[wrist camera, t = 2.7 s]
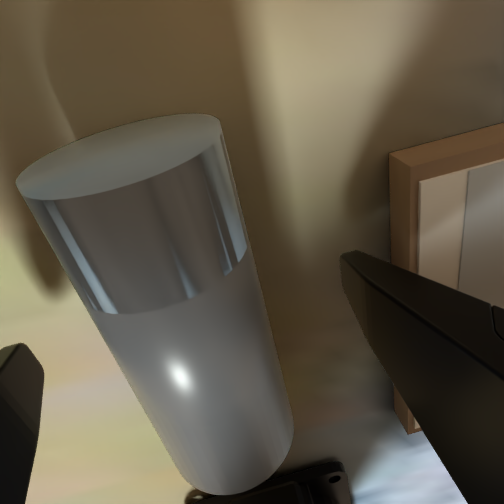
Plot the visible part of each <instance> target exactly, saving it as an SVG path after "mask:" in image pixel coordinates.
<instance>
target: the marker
mask: <svg viewBox="0 0 504 504" xmlns="http://www.w3.org/2000/svg"><path fill="white" fill-rule="evenodd" d="M16 186H17V188H18V190H19V192H20V193H21V195H22V197H23V199H24V200H25V202H26V204H27V206H28V207H29V209H30V211H31V213H32V214H33V216H34V218H35V220H36V221H37V223H38V225H39V227H40V228H41V230H42V232H43V234H44V235H45V237H46V239H47V241H48V242H49V244H50V246H51V248H52V249H53V251H54V253H55V255H56V256H57V258H58V260H59V262H60V263H61V265H62V267H63V269H64V270H65V272H66V274H67V276H68V277H69V279H70V281H71V283H72V284H73V286H74V288H75V290H76V292H77V293H78V295H79V297H80V299H81V300H82V302H83V304H84V306H85V307H86V309H87V311H88V313H89V314H90V316H91V318H92V320H93V321H94V323H95V325H96V327H97V328H98V330H99V332H100V334H101V335H102V337H103V339H104V341H105V342H106V344H107V346H108V348H109V349H110V351H111V353H112V355H113V356H114V358H115V360H116V362H117V363H118V365H119V367H120V369H121V370H122V372H123V374H124V376H125V377H126V379H127V381H128V383H129V384H130V386H131V388H132V390H133V391H134V393H135V395H136V397H137V398H138V400H139V402H140V404H141V405H142V407H143V409H144V411H145V413H146V414H147V416H148V418H149V420H150V421H151V423H152V425H153V427H154V428H155V430H156V432H157V434H158V435H159V437H160V439H161V441H162V442H163V444H164V446H165V448H166V449H167V451H168V453H169V455H170V456H171V458H172V460H173V462H174V463H175V465H176V467H177V469H178V470H179V472H180V474H181V475H182V476H183V478H184V479H185V480H186V481H187V482H188V483H189V484H191V485H192V486H193V487H195V488H197V489H198V490H200V491H203V492H206V493H209V494H214V495H232V494H237V493H241V492H244V491H247V490H250V489H252V488H254V487H256V486H258V485H259V484H261V483H262V482H264V481H265V480H267V479H268V478H269V477H270V476H271V475H272V474H273V473H274V472H275V471H276V470H277V469H278V468H279V467H280V465H281V464H282V462H283V461H284V459H285V458H286V456H287V454H288V452H289V449H290V446H291V443H292V439H293V434H294V421H293V416H292V411H291V407H290V403H289V399H288V395H287V391H286V387H285V383H284V379H283V375H282V371H281V367H280V363H279V359H278V355H277V351H276V347H275V343H274V338H273V334H272V330H271V326H270V322H269V318H268V314H267V310H266V306H265V302H264V298H263V294H262V290H261V286H260V282H259V278H258V274H257V270H256V266H255V262H254V258H253V254H252V249H251V245H250V241H249V237H248V233H247V229H246V225H245V221H244V217H243V213H242V209H241V205H240V201H239V197H238V193H237V189H236V185H235V181H234V177H233V173H232V169H231V164H230V160H229V156H228V152H227V148H226V144H225V140H224V136H223V132H222V128H221V124H220V121H219V119H218V118H216V117H214V116H211V115H207V114H196V113H194V114H177V115H168V116H162V117H156V118H151V119H146V120H142V121H137V122H133V123H129V124H125V125H122V126H118V127H115V128H112V129H108V130H105V131H102V132H99V133H96V134H93V135H91V136H88V137H85V138H83V139H80V140H77V141H75V142H73V143H70V144H68V145H66V146H63V147H61V148H59V149H57V150H55V151H53V152H51V153H49V154H47V155H45V156H44V157H42V158H40V159H38V160H37V161H35V162H34V163H32V164H31V165H30V166H28V167H27V168H26V169H25V170H23V171H22V172H21V173H20V175H19V176H18V177H17V179H16Z"/></svg>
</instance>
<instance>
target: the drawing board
mask: <svg viewBox="0 0 504 504" xmlns="http://www.w3.org/2000/svg"><path fill="white" fill-rule="evenodd" d="M389 183H390V231H391V264H394V265H396V266H399V267H401V268H404V269H406V270H409V271H411V272H414V273H416V274H419V275H421V276H423V277H426V278H428V279H431V280H433V281H436V282H438V283H441V284H443V285H446V286H448V287H451V288H453V289H456V290H458V291H461V292H463V293H466V294H468V295H471V296H473V297H476V298H478V299H481V300H483V301H486V302H488V303H490V304H491V306H493V305H496V306H498V307H501V308H503V309H504V123H500V124H496V125H493V126H489V127H485V128H481V129H478V130H474V131H470V132H467V133H463V134H459V135H455V136H452V137H448V138H444V139H440V140H437V141H433V142H429V143H425V144H422V145H418V146H414V147H410V148H407V149H403V150H399V151H396V152H392V153H389ZM394 411H395V413H396V415H397V416H398V418H399V420H400V422H401V423H402V425H403V427H404V429H405V431H406V432H407V434H408V435H409V434H412V433H415V432H419V431H422V429H421V427H420V426H419V424H418V423H417V421H416V419H415V418H414V416H413V415H412V413H411V411H410V410H409V408H408V407H407V405H406V403H405V402H404V400H403V399H402V397H401V395H400V394H399V392H398V390H397V389H396V387H395V386H394Z"/></svg>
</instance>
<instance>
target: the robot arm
mask: <svg viewBox="0 0 504 504" xmlns="http://www.w3.org/2000/svg"><path fill="white" fill-rule="evenodd" d="M339 261H340V271H341V280H342V286H343V289H344V292H345V294H346V296H347V298H348V300H349V303H350V305H351V307H352V309H353V311H354V313H355V316H356V318H357V320H358V322H359V324H360V326H361V328H362V331H363V333H364V335H365V337H366V339H367V341H368V343H369V345H370V347H371V348H372V350H373V352H374V353H375V355H376V357H377V358H378V360H379V362H380V363H381V365H382V366H383V368H384V370H385V371H386V373H387V374H388V376H389V378H390V379H391V381H392V382H393V384H394V386H395V387H396V389H397V390H398V392H399V394H400V395H401V397H402V399H403V400H404V402H405V403H406V405H407V407H408V408H409V410H410V411H411V413H412V415H413V416H414V418H415V419H416V421H417V423H418V424H419V426H420V427H421V429H422V431H423V432H424V434H425V436H426V437H427V439H428V440H429V442H430V444H431V445H432V447H433V448H434V450H435V452H436V453H437V455H438V456H439V458H440V460H441V461H442V463H443V464H444V466H445V468H446V469H447V471H448V473H449V474H450V476H451V477H452V479H453V481H454V482H455V484H456V485H457V487H458V489H459V490H460V492H461V493H462V495H463V497H464V498H465V500H466V502H467V503H468V504H504V309H503V308H501V307H498V306H496V305H493V306H491V304H490V303H488V302H486V301H483V300H481V299H478V298H476V297H473V296H471V295H468V294H466V293H463V292H461V291H458V290H456V289H453V288H451V287H448V286H446V285H443V284H441V283H438V282H436V281H433V280H431V279H428V278H426V277H423V276H421V275H419V274H416V273H414V272H411V271H409V270H406V269H404V268H401V267H399V266H396V265H394V264H391V263H389V262H386V261H384V260H381V259H379V258H376V257H374V256H371V255H369V254H366V253H364V252H361V251H359V250H353V251H350V252H346V253H342V254H341V255H340V258H339ZM43 386H44V370H43V367H42V365H41V364H40V363H39V361H38V360H37V358H36V357H35V356H34V354H33V353H32V351H31V350H30V349H29V347H28V346H27V345H26V344H24V343H18V344H14V345H10V346H7V347H4V348H2V349H1V350H0V504H25V501H26V496H27V491H28V487H29V482H30V477H31V472H32V467H33V463H34V458H35V453H36V448H37V442H38V436H39V428H40V418H41V407H42V397H43ZM192 504H351V499H350V493H349V486H348V479H347V474H346V472H345V469H344V466H343V464H342V463H340V462H330V463H326V464H323V465H320V466H316V467H313V468H309V469H306V470H303V471H299V472H296V473H293V474H289V475H286V476H283V477H279V478H276V479H273V480H269V481H266V482H263V483H261V484H259V485H258V486H256V487H254V488H252V489H250V490H247V491H244V492H241V493H237V494H232V495H219V496H216V497H212V498H209V499H206V500H202V501H199V502H196V503H192Z"/></svg>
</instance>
